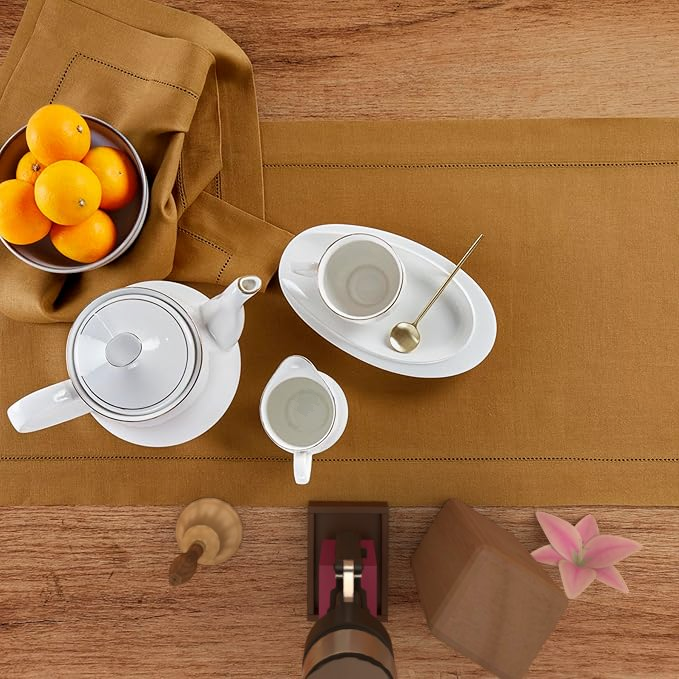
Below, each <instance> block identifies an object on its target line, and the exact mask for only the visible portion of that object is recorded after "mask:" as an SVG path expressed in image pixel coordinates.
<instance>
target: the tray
mask: <svg viewBox="0 0 679 679" xmlns="http://www.w3.org/2000/svg"><path fill="white" fill-rule="evenodd" d="M389 508H390V507H389V504H388V501H380V500H379V501H376V500H375V501H373V500H371V501H370V500H367V501H365V500H364V501H363V500H362V501H361V500H309V501H308V504H307V530H306V531H307V533H306V534H307V537H306V538H307V539H306V540H307V543H306V544H307V547H306V549H307V550H306V552H307V553H306V554H307V557H306V559H307V560H306V561H307V562H306V563H307V564H306V566H307V568H306V571H307V572H306V586H307V587H306V622H317V621H318V620H319V564H320V556H321V547H322V540H335V536H336V534H337V532H360V534H361V540H373V542H374V549H375V556H376V564H377V619H378V620H379V621H380V622H381V623H388V622H389V535H390V534H389V526H390V524H389V521H390V520H389V519H390V518H389V517H390V516H389V512H390V510H389Z"/></svg>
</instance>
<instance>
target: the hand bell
mask: <svg viewBox="0 0 679 679" xmlns="http://www.w3.org/2000/svg"><path fill="white" fill-rule="evenodd" d="M174 529H175V531H174V532H175V539H176V543H177V546H178V547H179V549H180V551H181V552H182V553H181V554H179V555H177V556H176V557H175V558H174V559H173V560H172V562H171V564H170V566H169V568H168V579H167V580H168V583H169V585H170V586H171V587H179V586H180V585H184V584H187V583H188V582H190V580H192V578H193V577H194V576H195V575H196V572H197V570H198V565H201V566H202V565H203V566H215V565H219V564H222V563H225V562H227V561H228V560H229V559H231V558H232V557H233V556H235V554H236V553H237V552H238V550H239V548H240V546H241V544H242V541H243V536H244V525H243V522H242V519H241V516H240V515H239V513H238V512H237V510H236V509H235V507H233V506H232V505H231V504H229V503H228V502H227V501H224V500H222V499H220V498H216V497H202V498H199V499H196V500H193V501H192V502H190V503H189V504H188V505H186V506H185V507H184V508H183V509H182V511H181V512H180V513H179V516H178V518H177V520H176V524H175V528H174Z"/></svg>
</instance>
